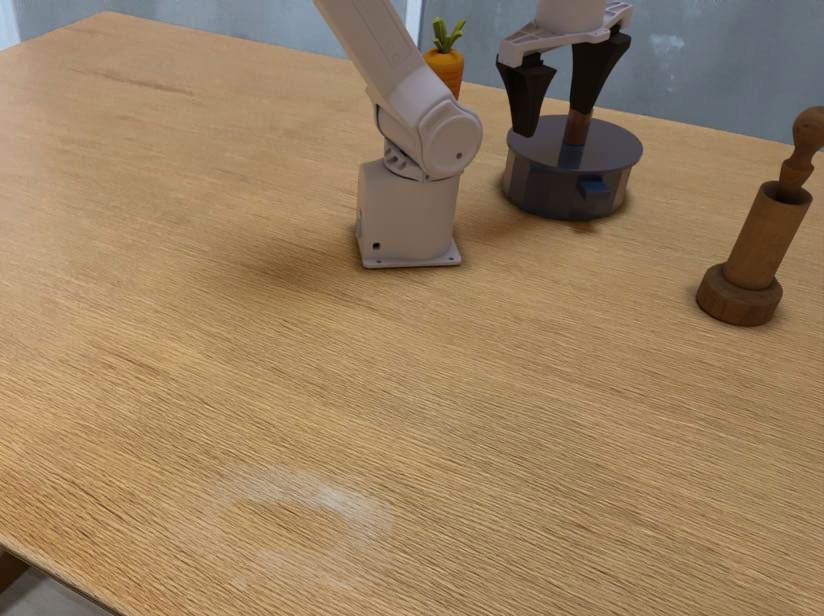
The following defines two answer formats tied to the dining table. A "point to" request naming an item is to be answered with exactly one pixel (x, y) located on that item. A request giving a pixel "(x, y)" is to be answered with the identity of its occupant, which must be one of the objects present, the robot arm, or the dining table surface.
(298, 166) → the dining table surface
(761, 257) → the mortar and pestle
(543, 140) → the lid
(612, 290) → the dining table surface
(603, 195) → the pot
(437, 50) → the carrot
